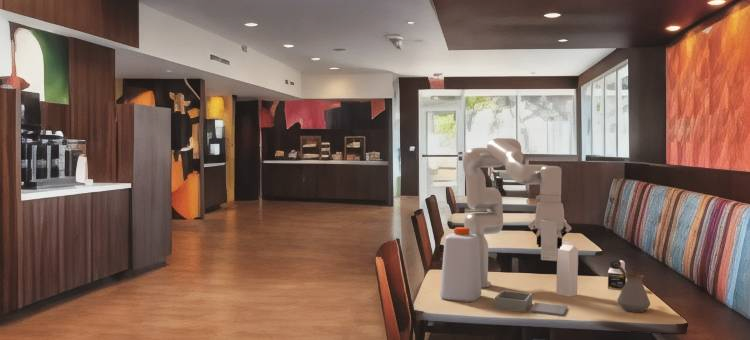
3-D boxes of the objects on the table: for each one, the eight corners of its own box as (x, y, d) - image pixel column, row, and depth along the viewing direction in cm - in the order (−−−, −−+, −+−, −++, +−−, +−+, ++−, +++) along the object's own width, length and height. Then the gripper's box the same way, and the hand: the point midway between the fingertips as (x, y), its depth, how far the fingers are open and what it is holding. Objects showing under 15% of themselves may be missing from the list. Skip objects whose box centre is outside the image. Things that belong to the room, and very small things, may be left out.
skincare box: (557, 261, 224) (558, 220, 223) (539, 260, 226) (540, 220, 225) (557, 257, 232) (558, 218, 231) (541, 256, 234) (542, 217, 233)
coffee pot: (656, 313, 227) (657, 273, 226) (625, 313, 226) (626, 273, 225) (629, 298, 248) (630, 261, 247) (601, 298, 247) (602, 261, 247)
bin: (494, 308, 231) (494, 297, 231) (502, 300, 243) (502, 290, 243) (525, 311, 227) (526, 301, 226) (532, 303, 238) (532, 293, 238)
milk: (568, 297, 249) (569, 243, 248) (555, 294, 254) (557, 241, 253) (577, 295, 253) (578, 241, 252) (565, 292, 258) (566, 239, 257)
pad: (529, 312, 226) (529, 309, 226) (535, 304, 237) (535, 302, 237) (563, 316, 221) (563, 313, 221) (567, 308, 232) (567, 306, 232)
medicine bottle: (607, 288, 265) (608, 261, 265) (608, 285, 272) (608, 258, 271) (625, 290, 262) (626, 262, 262) (625, 286, 269) (626, 259, 269)
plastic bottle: (447, 291, 257) (448, 224, 256) (483, 294, 252) (484, 226, 251) (437, 299, 243) (438, 229, 242) (475, 303, 238) (476, 231, 237)
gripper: (524, 198, 228) (523, 247, 229) (573, 201, 221) (572, 251, 222) (528, 197, 235) (527, 244, 236) (575, 199, 228) (574, 247, 228)
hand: (549, 247), depth 229 cm, fingers closed on skincare box, 6 cm apart
